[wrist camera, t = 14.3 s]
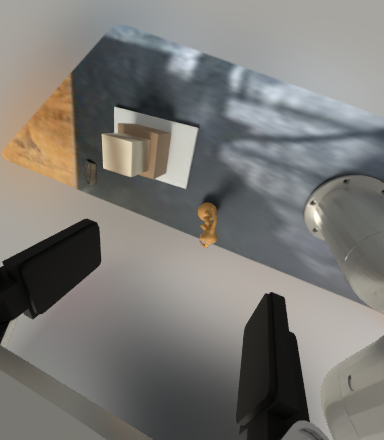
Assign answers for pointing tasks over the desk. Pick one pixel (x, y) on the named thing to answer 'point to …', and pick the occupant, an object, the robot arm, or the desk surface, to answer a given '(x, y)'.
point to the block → (90, 172)
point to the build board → (177, 143)
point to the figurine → (208, 223)
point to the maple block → (125, 153)
